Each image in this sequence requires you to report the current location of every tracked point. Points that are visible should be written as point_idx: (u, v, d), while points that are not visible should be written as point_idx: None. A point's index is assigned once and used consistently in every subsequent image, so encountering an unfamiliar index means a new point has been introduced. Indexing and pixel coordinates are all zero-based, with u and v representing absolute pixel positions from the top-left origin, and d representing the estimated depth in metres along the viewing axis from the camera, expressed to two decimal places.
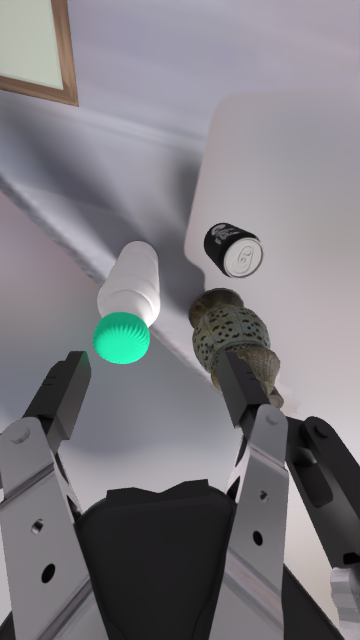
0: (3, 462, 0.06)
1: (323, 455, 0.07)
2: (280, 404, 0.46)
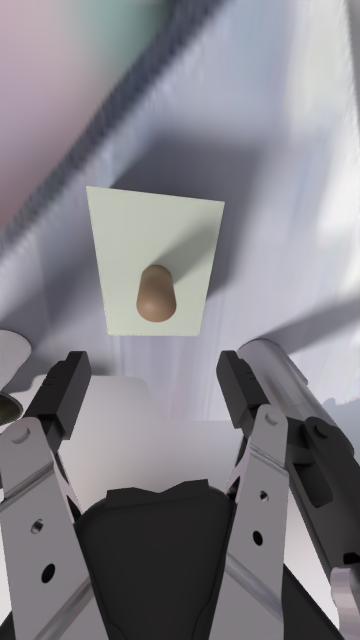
0: (3, 462, 0.06)
1: (323, 455, 0.07)
2: None
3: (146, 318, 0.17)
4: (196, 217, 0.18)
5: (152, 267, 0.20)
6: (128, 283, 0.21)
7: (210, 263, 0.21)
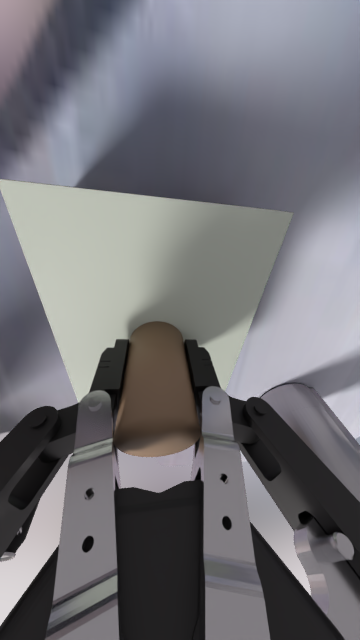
0: (79, 422, 0.07)
1: (266, 434, 0.07)
2: None
3: (137, 454, 0.08)
4: (234, 242, 0.09)
5: (149, 329, 0.11)
6: None
7: (250, 315, 0.12)
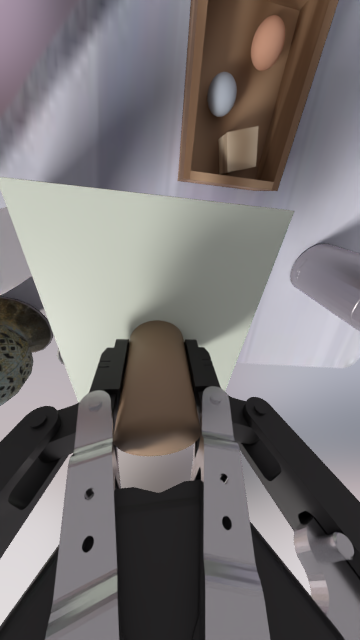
0: (79, 422, 0.07)
1: (266, 434, 0.07)
2: None
3: (137, 453, 0.08)
4: (235, 240, 0.09)
5: (149, 328, 0.11)
6: None
7: (250, 314, 0.12)
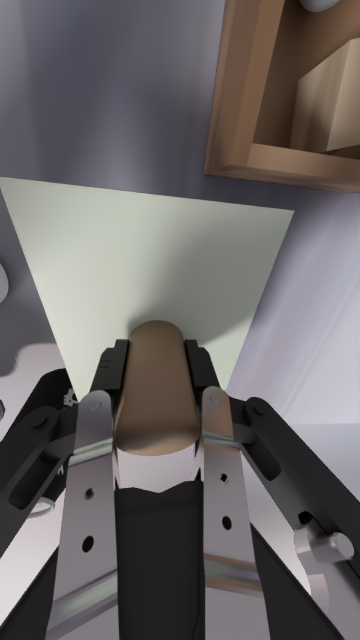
0: (79, 422, 0.07)
1: (266, 434, 0.07)
2: None
3: (137, 453, 0.08)
4: (235, 240, 0.09)
5: (149, 328, 0.11)
6: None
7: (250, 314, 0.12)
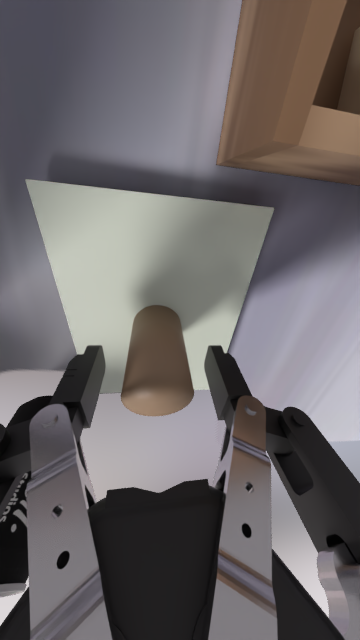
0: (33, 443, 0.06)
1: (301, 444, 0.07)
2: None
3: (140, 412, 0.10)
4: (224, 233, 0.11)
5: (150, 311, 0.12)
6: (114, 331, 0.14)
7: (240, 301, 0.14)
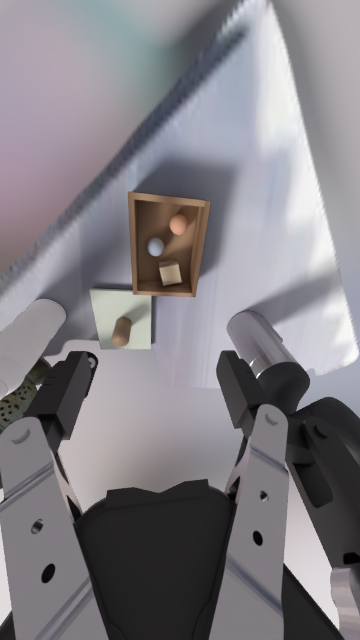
0: (3, 462, 0.06)
1: (323, 455, 0.07)
2: None
3: (116, 344, 0.39)
4: (139, 298, 0.40)
5: (120, 319, 0.42)
6: (110, 325, 0.44)
7: (149, 315, 0.43)
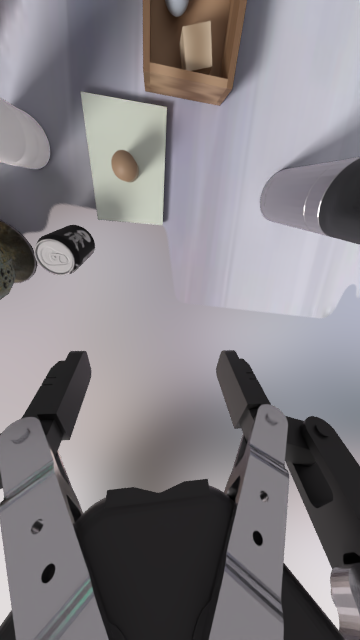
0: (3, 462, 0.06)
1: (323, 455, 0.07)
2: None
3: (118, 176, 0.28)
4: (150, 118, 0.29)
5: None
6: (109, 171, 0.33)
7: (163, 156, 0.32)
